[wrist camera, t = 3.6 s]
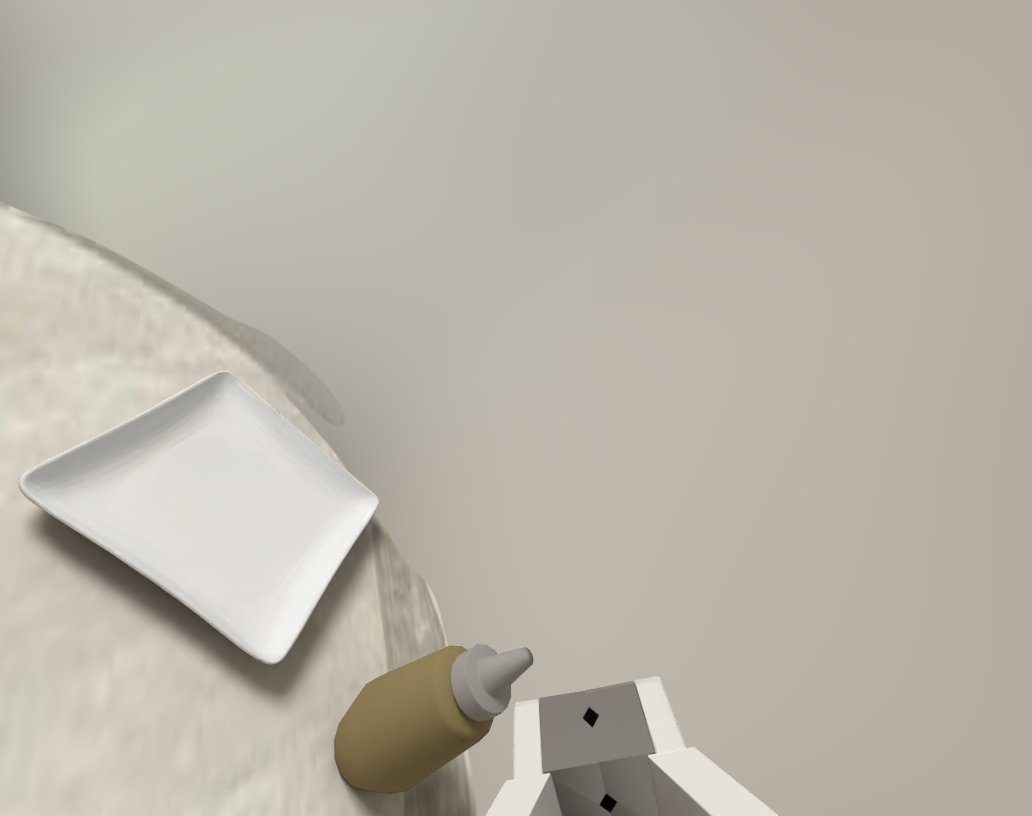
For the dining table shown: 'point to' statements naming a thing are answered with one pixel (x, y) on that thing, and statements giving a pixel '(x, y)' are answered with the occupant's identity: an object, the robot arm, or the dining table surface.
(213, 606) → the salad plate
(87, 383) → the dining table surface
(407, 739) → the squeeze bottle
